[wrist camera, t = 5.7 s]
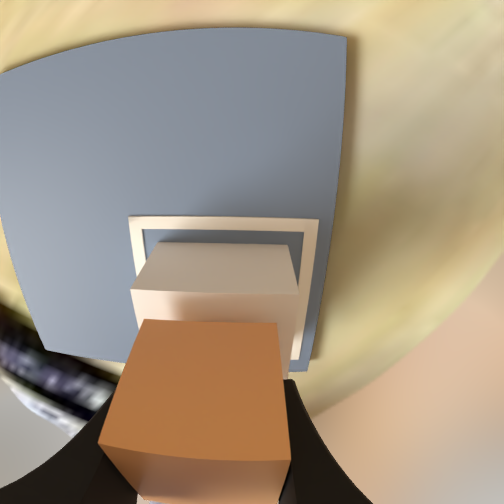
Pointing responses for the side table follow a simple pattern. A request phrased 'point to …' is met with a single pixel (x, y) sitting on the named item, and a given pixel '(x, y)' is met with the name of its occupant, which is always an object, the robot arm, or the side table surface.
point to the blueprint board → (166, 168)
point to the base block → (220, 287)
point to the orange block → (201, 414)
